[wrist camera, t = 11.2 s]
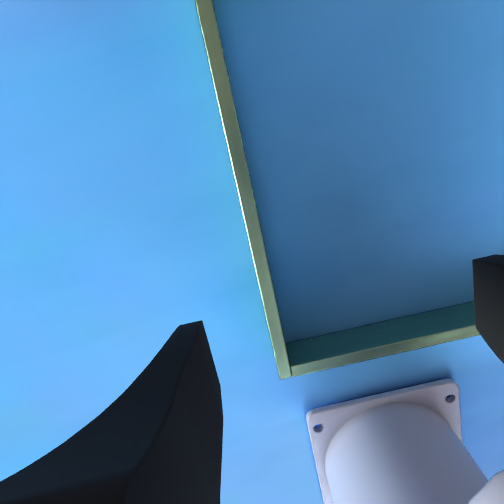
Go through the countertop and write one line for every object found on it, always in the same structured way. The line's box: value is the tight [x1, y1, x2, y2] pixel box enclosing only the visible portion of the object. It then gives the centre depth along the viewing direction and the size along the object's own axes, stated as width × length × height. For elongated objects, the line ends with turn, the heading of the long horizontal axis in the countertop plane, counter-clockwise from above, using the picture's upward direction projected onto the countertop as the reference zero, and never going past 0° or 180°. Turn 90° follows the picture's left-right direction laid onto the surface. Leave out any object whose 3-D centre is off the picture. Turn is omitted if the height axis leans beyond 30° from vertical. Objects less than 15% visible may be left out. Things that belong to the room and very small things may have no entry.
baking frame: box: [195, 0, 480, 379], centre depth 19 cm, size 17×20×2 cm
